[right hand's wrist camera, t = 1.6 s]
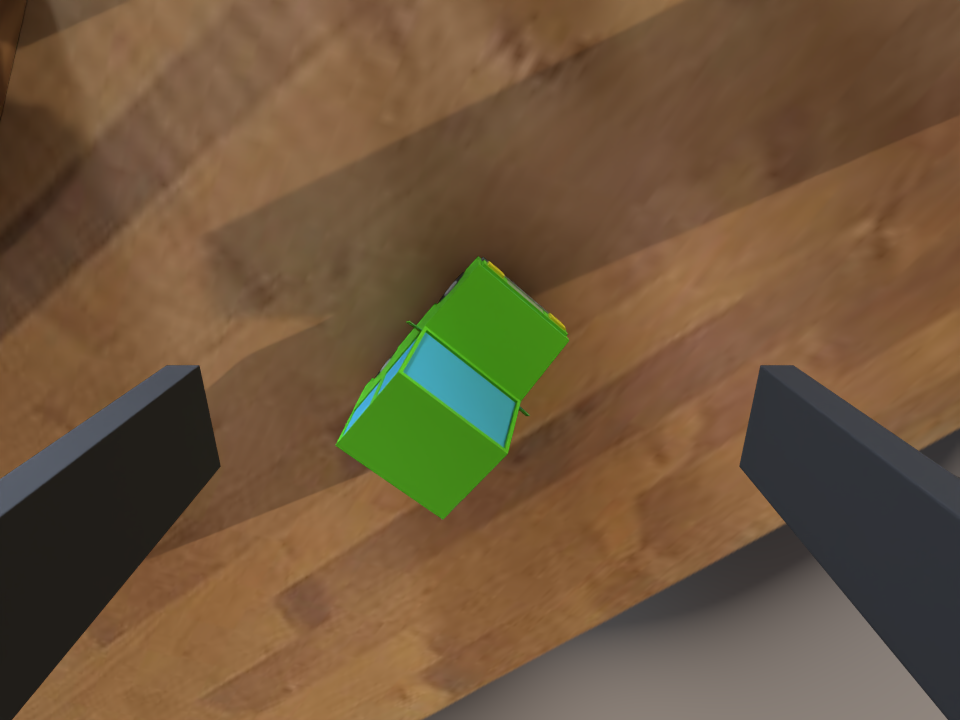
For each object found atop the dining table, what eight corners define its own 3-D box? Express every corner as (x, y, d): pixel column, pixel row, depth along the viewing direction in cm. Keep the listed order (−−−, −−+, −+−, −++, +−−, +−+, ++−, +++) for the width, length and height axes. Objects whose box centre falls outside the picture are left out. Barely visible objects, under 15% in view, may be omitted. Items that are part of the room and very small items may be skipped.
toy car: (574, 327, 39) (605, 378, 30) (460, 448, 43) (455, 528, 33) (468, 236, 37) (466, 261, 27) (356, 372, 40) (320, 435, 31)
